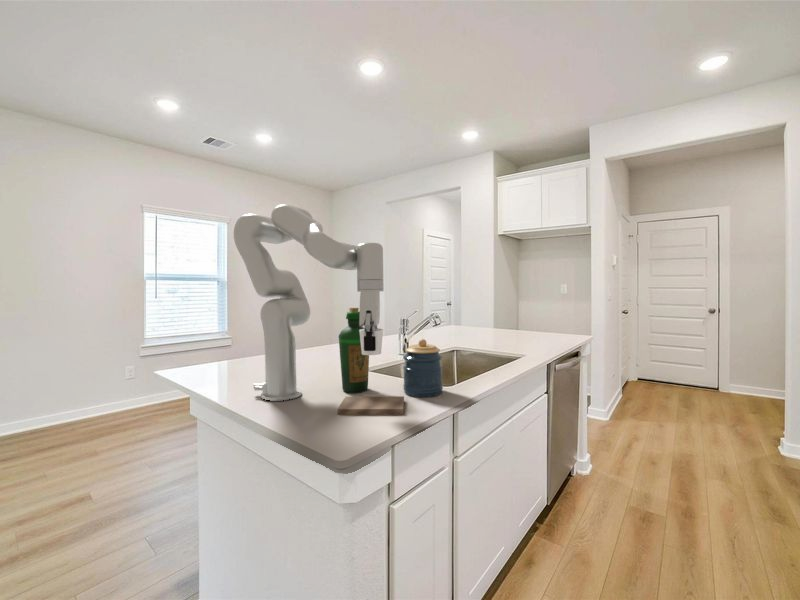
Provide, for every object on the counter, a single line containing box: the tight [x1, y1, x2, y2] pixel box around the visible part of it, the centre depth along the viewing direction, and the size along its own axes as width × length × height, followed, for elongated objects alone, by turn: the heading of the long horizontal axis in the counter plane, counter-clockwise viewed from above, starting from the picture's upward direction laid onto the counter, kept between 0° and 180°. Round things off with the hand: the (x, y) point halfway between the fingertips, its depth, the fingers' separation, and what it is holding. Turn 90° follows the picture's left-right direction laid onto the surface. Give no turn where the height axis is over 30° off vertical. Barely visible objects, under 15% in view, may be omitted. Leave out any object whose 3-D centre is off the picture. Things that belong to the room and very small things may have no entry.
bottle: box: [338, 307, 370, 394], centre depth 126 cm, size 11×11×28 cm
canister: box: [402, 338, 444, 398], centre depth 122 cm, size 13×13×18 cm
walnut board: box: [336, 395, 405, 416], centre depth 107 cm, size 18×12×2 cm, turn 88°
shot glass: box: [359, 327, 384, 356], centre depth 107 cm, size 7×7×7 cm
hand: (371, 348), depth 107 cm, fingers closed on shot glass, 6 cm apart
